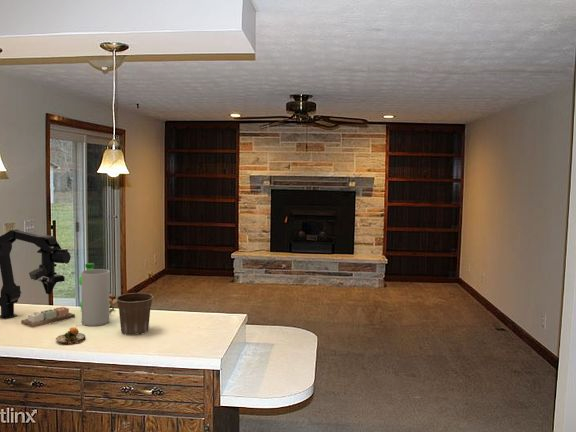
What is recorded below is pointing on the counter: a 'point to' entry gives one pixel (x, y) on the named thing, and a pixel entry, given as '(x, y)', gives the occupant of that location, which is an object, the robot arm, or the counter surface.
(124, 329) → the plant pot
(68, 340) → the mossy decorative centerpiece
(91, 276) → the cylinder vase
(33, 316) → the tile one pip
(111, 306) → the lion figurine
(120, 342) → the counter surface
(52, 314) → the tile two pips
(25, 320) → the walnut board
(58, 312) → the tile three pips
